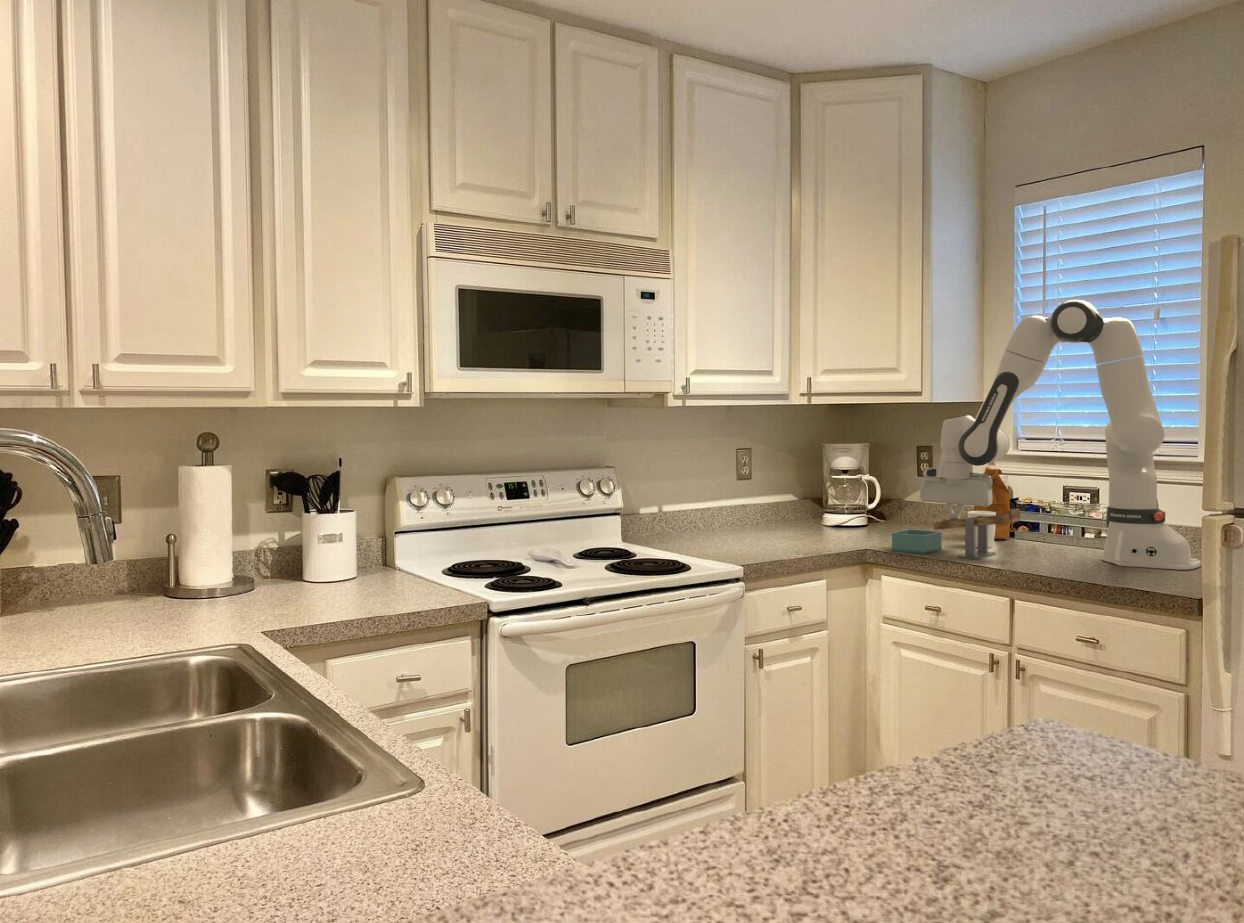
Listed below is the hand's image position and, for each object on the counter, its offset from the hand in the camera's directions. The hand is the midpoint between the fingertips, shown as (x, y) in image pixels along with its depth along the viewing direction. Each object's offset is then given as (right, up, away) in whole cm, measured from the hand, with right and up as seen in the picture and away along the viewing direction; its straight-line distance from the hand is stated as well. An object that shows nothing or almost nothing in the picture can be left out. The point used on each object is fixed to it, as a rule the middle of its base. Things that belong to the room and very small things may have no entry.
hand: (955, 519), depth 272 cm
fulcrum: (+2, -9, -10) cm, 14 cm away
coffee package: (+19, -7, +22) cm, 30 cm away
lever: (+4, -1, -9) cm, 10 cm away
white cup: (+10, -8, +7) cm, 15 cm away
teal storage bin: (-10, -9, +2) cm, 14 cm away
